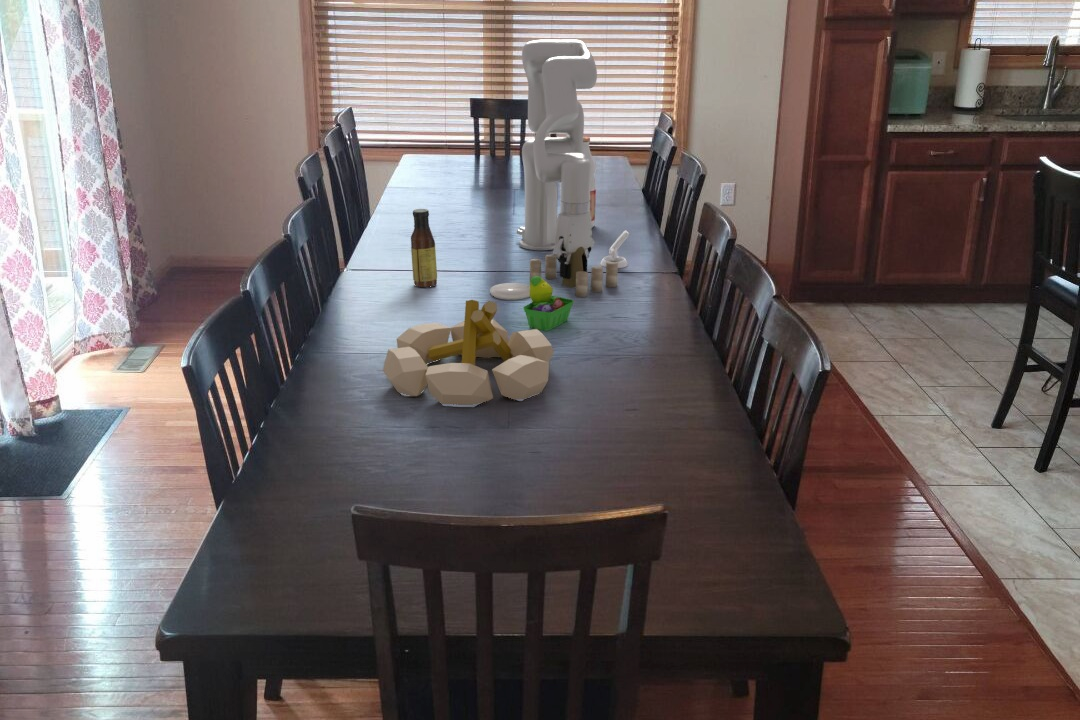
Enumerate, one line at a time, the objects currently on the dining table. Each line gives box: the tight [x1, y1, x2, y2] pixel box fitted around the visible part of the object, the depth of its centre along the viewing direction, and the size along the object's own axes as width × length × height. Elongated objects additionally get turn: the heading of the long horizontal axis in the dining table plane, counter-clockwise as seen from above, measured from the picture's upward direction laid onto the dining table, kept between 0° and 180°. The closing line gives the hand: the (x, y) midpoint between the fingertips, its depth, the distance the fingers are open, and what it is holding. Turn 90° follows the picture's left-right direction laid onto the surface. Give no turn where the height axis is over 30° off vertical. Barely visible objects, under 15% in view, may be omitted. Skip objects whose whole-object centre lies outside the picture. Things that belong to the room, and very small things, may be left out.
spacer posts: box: [529, 253, 619, 298], centre depth 275 cm, size 19×15×6 cm
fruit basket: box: [523, 276, 574, 332], centre depth 244 cm, size 11×9×11 cm
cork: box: [561, 247, 584, 288], centre depth 274 cm, size 6×6×11 cm
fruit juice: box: [583, 135, 597, 228], centre depth 328 cm, size 9×9×28 cm
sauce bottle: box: [410, 208, 438, 288], centre depth 270 cm, size 7×6×20 cm
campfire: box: [382, 299, 555, 405], centre depth 213 cm, size 35×34×17 cm
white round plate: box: [489, 282, 530, 301], centre depth 268 cm, size 11×11×1 cm
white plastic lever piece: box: [600, 230, 630, 269], centre depth 292 cm, size 8×12×7 cm
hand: (573, 274), depth 275 cm, fingers open, 5 cm apart
